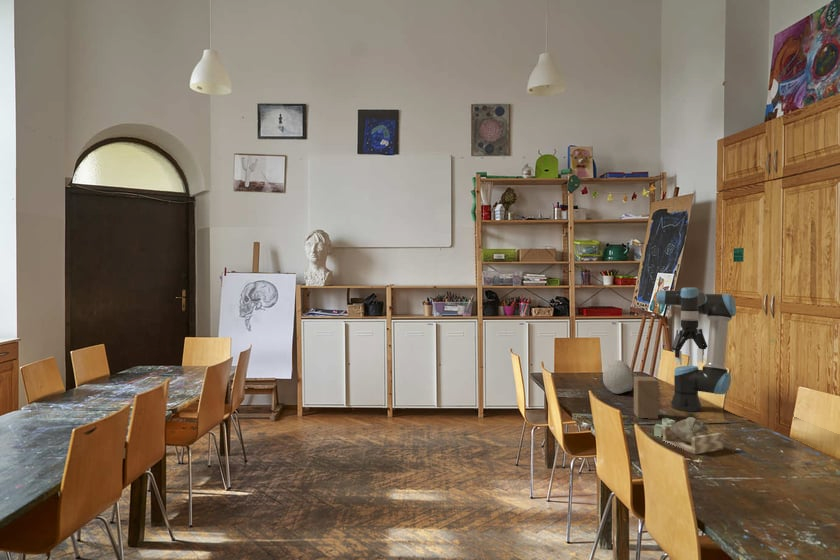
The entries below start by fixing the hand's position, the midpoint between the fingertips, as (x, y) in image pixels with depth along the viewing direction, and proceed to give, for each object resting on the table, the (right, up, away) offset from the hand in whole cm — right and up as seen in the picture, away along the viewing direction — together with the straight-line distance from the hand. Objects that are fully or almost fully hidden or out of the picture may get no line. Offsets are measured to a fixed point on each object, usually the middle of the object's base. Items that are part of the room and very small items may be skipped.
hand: (689, 363), depth 247 cm
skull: (-4, -30, +76) cm, 82 cm away
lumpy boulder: (-12, -30, -21) cm, 39 cm away
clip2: (-19, -32, -9) cm, 39 cm away
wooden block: (-11, -32, +22) cm, 40 cm away
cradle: (-11, -32, -22) cm, 41 cm away
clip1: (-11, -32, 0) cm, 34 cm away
